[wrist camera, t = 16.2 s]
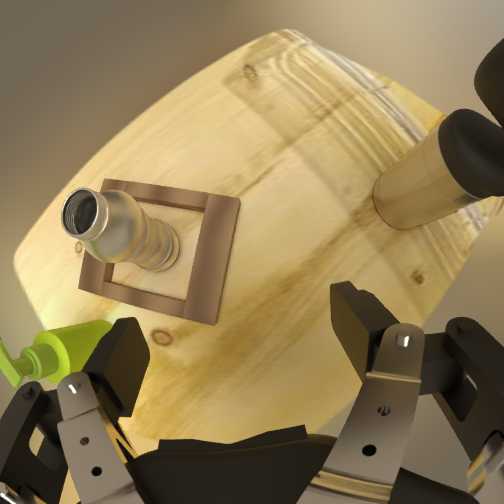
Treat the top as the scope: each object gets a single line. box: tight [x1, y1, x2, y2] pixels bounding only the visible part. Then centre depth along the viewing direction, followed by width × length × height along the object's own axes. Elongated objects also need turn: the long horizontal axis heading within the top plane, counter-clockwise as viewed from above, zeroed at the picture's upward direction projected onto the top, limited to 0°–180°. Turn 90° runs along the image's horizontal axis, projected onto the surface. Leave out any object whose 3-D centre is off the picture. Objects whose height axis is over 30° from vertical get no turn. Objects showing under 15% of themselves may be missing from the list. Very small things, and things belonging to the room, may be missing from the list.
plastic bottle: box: [61, 188, 179, 272], centre depth 27 cm, size 6×7×20 cm
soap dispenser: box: [0, 320, 113, 388], centre depth 25 cm, size 6×7×20 cm
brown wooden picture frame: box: [78, 179, 240, 325], centre depth 36 cm, size 20×16×2 cm
